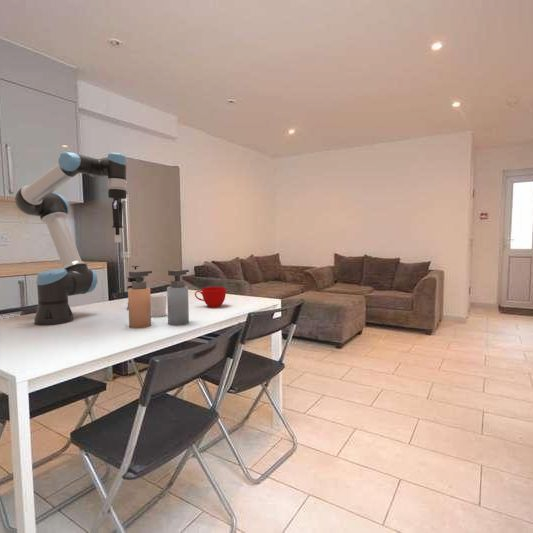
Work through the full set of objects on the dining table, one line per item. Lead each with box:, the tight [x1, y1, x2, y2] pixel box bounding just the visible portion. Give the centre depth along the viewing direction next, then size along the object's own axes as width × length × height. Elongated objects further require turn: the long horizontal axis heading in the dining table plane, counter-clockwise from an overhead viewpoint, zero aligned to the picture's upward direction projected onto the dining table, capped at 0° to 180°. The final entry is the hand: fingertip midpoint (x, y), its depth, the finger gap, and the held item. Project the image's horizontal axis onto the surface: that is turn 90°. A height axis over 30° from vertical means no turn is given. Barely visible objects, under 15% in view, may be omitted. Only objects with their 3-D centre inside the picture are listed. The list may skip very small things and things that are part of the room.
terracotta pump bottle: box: [127, 280, 152, 329], centre depth 153 cm, size 9×9×19 cm
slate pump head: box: [167, 269, 190, 281], centre depth 158 cm, size 10×4×7 cm, turn 147°
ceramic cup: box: [194, 286, 227, 308], centre depth 197 cm, size 13×17×10 cm
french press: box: [126, 265, 146, 311], centre depth 192 cm, size 12×9×23 cm
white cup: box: [150, 293, 167, 318], centre depth 174 cm, size 8×8×10 cm
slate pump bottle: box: [166, 279, 190, 326], centre depth 158 cm, size 9×9×19 cm
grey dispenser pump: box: [128, 270, 153, 282], centre depth 154 cm, size 10×4×7 cm, turn 147°
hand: (118, 242), depth 161 cm, fingers closed
